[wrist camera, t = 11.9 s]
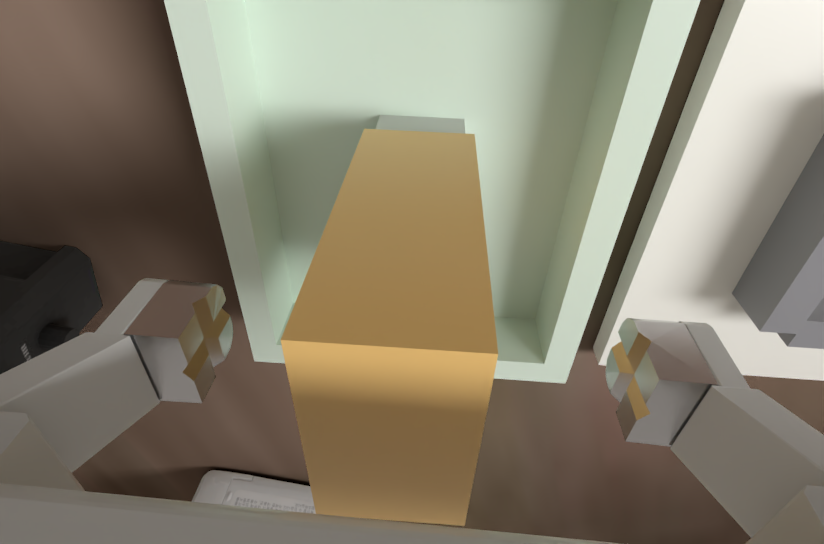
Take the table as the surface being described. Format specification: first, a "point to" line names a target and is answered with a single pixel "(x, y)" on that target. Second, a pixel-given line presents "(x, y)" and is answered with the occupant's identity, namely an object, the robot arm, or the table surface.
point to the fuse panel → (741, 199)
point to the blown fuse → (397, 330)
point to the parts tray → (443, 98)
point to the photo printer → (253, 492)
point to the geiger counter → (42, 300)
